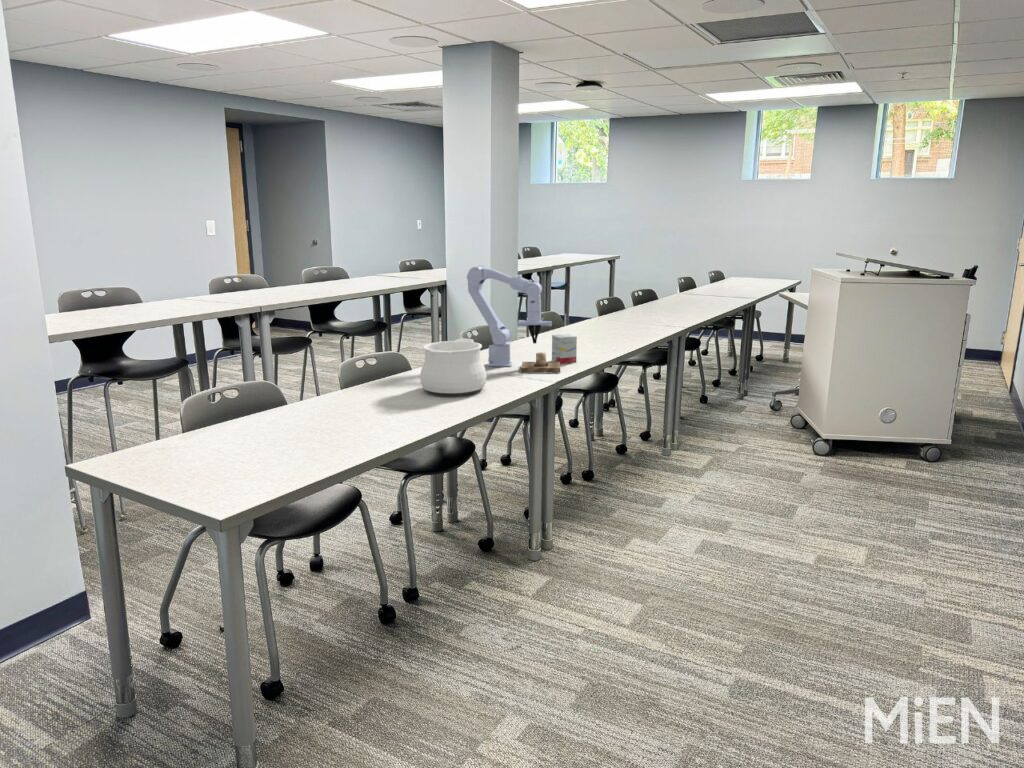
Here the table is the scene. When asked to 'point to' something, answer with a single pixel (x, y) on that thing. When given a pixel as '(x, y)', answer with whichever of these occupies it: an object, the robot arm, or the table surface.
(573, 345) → the ink box
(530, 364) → the board
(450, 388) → the pot
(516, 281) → the robot arm
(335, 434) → the table surface
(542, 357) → the peg
